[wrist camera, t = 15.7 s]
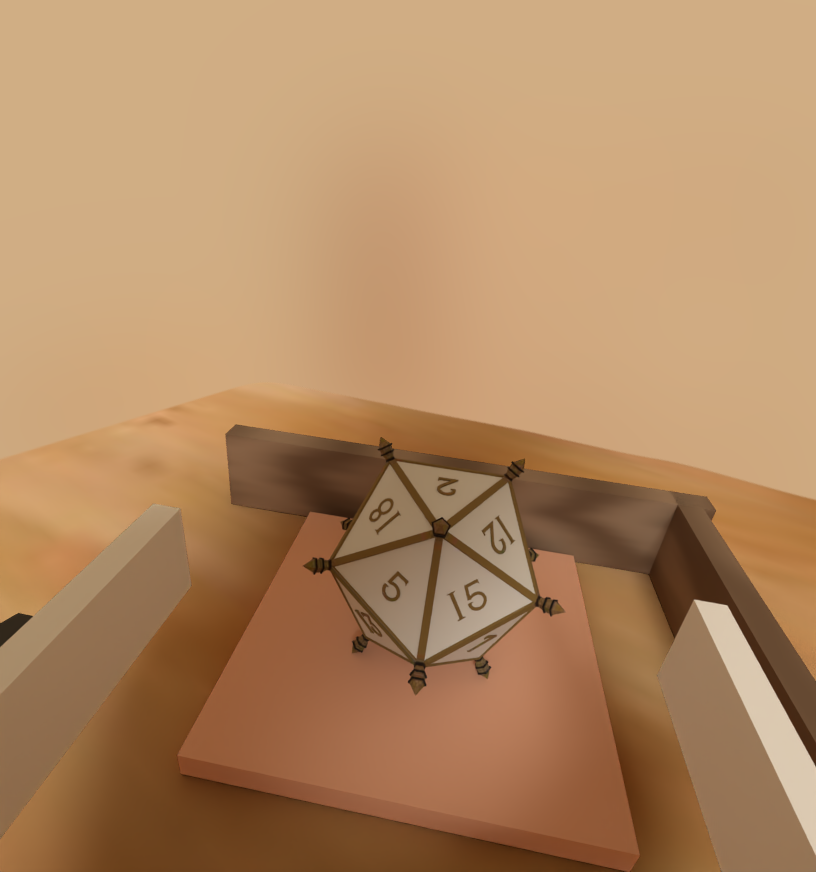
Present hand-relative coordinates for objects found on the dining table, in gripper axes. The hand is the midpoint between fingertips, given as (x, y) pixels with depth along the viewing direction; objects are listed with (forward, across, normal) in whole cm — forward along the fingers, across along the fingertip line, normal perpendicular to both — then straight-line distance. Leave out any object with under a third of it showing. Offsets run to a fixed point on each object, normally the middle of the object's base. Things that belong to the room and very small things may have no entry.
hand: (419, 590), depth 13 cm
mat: (+5, 0, -8) cm, 9 cm away
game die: (+5, 0, -7) cm, 9 cm away
